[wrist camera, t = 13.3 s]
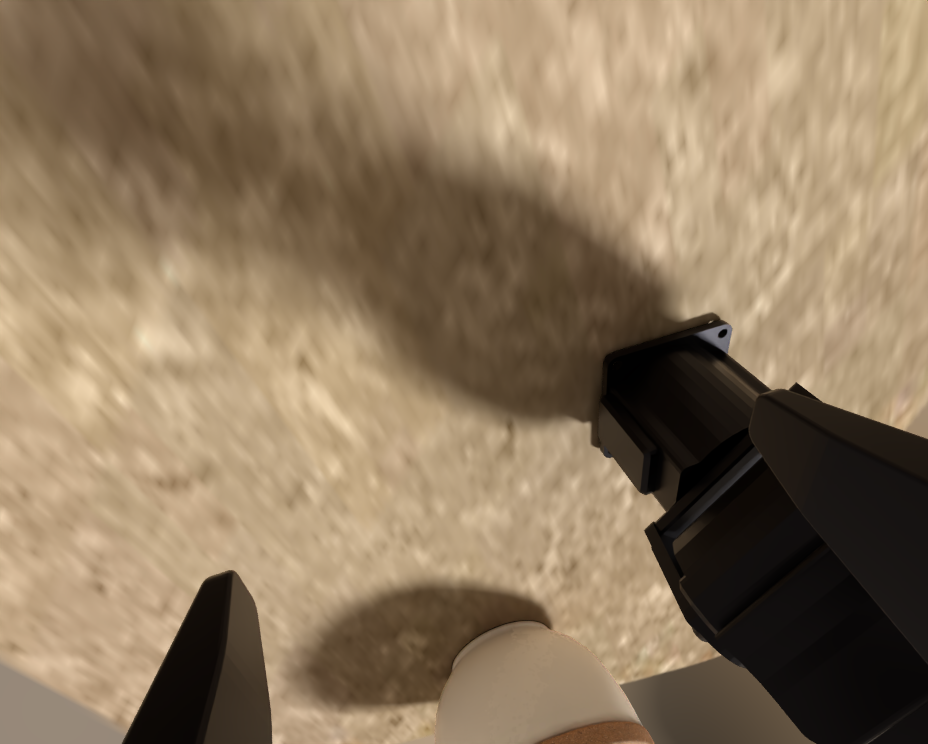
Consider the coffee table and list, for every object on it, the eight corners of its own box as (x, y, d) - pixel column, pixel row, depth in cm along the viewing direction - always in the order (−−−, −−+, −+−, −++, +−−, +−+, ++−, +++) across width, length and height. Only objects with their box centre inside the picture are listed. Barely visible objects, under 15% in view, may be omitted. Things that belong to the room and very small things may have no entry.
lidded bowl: (378, 662, 35) (424, 887, 27) (561, 565, 36) (664, 759, 27) (453, 724, 43) (505, 913, 35) (601, 645, 44) (690, 814, 35)
